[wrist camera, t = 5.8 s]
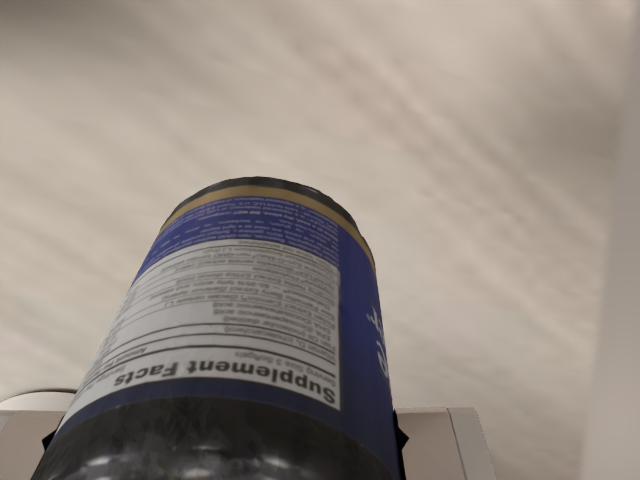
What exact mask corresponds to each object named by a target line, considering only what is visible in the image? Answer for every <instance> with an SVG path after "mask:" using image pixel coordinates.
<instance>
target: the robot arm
mask: <svg viewBox="0 0 640 480" xmlns="http://www.w3.org/2000/svg"><path fill="white" fill-rule="evenodd" d="M75 395H76V394H72V393H62V392H36V393H29V394H23V395H19V396H15V397H12V398H10V399H7V400H5V401H3V402H1V403H0V480H32V477H33V475H34V472H35V471H36V470H37V468H38V467H39V465H40V463H41V460H42V458H43V457H44V454H45V452H46V450H47V448H48V446H49V444H50V443H51V441H52V439H53V438H54V436H55V434H56V432H57V430H58V428H59V426H60V424H61V422H62V420H63V418H64V416H65V414H66V412H67V410H68V408H69V406H70V404H71V402H72V401H73V399H74V397H75ZM393 414H394V421H395V429H396V437H397V445H398V454H399V462H400V470H401V478H402V480H497V477H496V473H495V470H494V467H493V464H492V460H491V457H490V454H489V450H488V447H487V444H486V441H485V437H484V434H483V431H482V428H481V424H480V421H479V418H478V414H477V412H476V411H475V409H474V408H445V407H439V408H395V409H394V412H393Z"/></svg>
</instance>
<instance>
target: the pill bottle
mask: <svg viewBox="0 0 640 480" xmlns="http://www.w3.org/2000/svg"><path fill="white" fill-rule="evenodd" d="M32 480H402V478H401V470H400V462H399V454H398V445H397V437H396V429H395V421H394V414H393V405H392V396H391V387H390V379H389V373H388V364H387V357H386V348H385V340H384V332H383V324H382V316H381V308H380V301H379V293H378V286H377V279H376V269H375V262H374V259H373V255H372V252H371V250H370V248H369V246H368V244H367V242H366V241H365V239H364V237H362V236H361V234H360V232H359V230H358V227H357V225H356V223H355V221H354V219H353V218H352V217H351V215H350V214H349V213H348V212H347V211H346V210H345V209H344V208H343V207H342V206H341V205H339V204H338V203H336V202H335V201H334V200H333V199H332V198H330V197H329V196H327V195H325V194H323V193H322V192H320V191H319V190H316V189H314V188H312V187H309V186H305V185H301V184H299V183H295V182H290V181H287V180H282V179H276V178H270V177H259V176H256V177H242V178H236V179H229V180H225V181H222V182H219V183H216V184H213V185H211V186H208V187H206V188H204V189H202V190H200V191H199V192H197V193H196V194H194V195H192V196H191V197H189V198H187V199H186V200H184V201H183V202H182V203H180V204H179V205H178V206H177V207H176V208H175V209H174V211H173V212H172V214H171V215H170V216H169V217H168V219H167V220H166V221H165V223H164V224H163V226H162V227H161V229H160V232H159V234H158V236H157V238H156V239H155V241H154V243H153V245H152V247H151V249H150V251H149V253H148V255H147V256H146V258H145V260H144V262H143V264H142V266H141V268H140V270H139V271H138V273H137V275H136V277H135V279H134V281H133V283H132V285H131V287H130V289H129V291H128V293H127V295H126V297H125V299H124V301H123V303H122V305H121V307H120V309H119V311H118V313H117V314H116V316H115V318H114V320H113V322H112V324H111V326H110V328H109V330H108V332H107V334H106V336H105V338H104V340H103V342H102V344H101V346H100V348H99V350H98V352H97V354H96V356H95V358H94V360H93V362H92V363H91V365H90V367H89V369H88V371H87V373H86V375H85V377H84V379H83V381H82V383H81V385H80V387H79V389H78V391H77V393H76V395H75V397H74V399H73V401H72V402H71V404H70V406H69V408H68V410H67V412H66V414H65V416H64V418H63V420H62V422H61V424H60V426H59V428H58V430H57V432H56V434H55V436H54V438H53V439H52V441H51V443H50V444H49V446H48V448H47V450H46V452H45V454H44V457H43V458H42V460H41V463H40V465H39V467H38V468H37V470H36V471H35V472H34V475H33V477H32Z"/></svg>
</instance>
